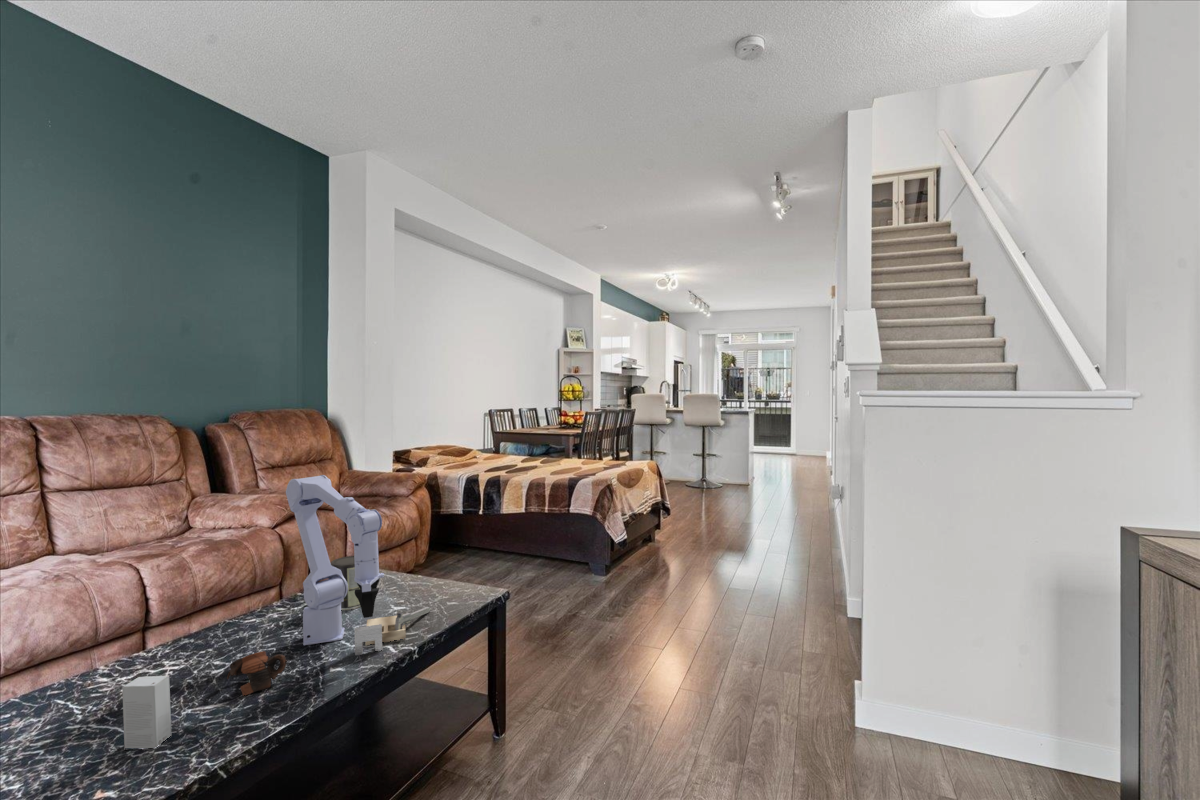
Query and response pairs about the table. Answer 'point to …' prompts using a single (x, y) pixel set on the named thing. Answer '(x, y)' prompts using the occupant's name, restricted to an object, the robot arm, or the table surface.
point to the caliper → (409, 617)
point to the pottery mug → (257, 670)
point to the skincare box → (146, 712)
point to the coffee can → (348, 581)
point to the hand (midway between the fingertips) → (368, 611)
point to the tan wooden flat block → (387, 629)
